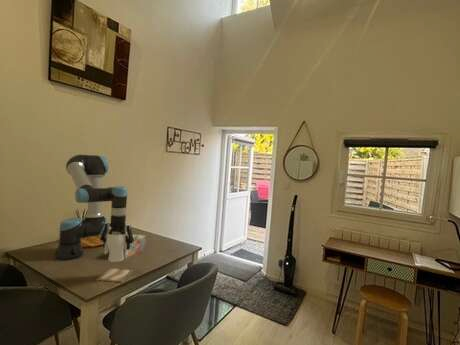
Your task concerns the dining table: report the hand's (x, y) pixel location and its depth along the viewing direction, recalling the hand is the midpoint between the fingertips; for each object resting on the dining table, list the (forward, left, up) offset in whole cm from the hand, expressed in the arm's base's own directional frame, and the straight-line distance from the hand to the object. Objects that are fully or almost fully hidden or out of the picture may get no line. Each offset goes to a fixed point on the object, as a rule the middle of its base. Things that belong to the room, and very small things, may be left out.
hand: (116, 254), depth 138 cm
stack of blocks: (-5, +33, -12) cm, 36 cm away
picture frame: (0, 0, -12) cm, 12 cm away
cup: (0, 0, -3) cm, 3 cm away
